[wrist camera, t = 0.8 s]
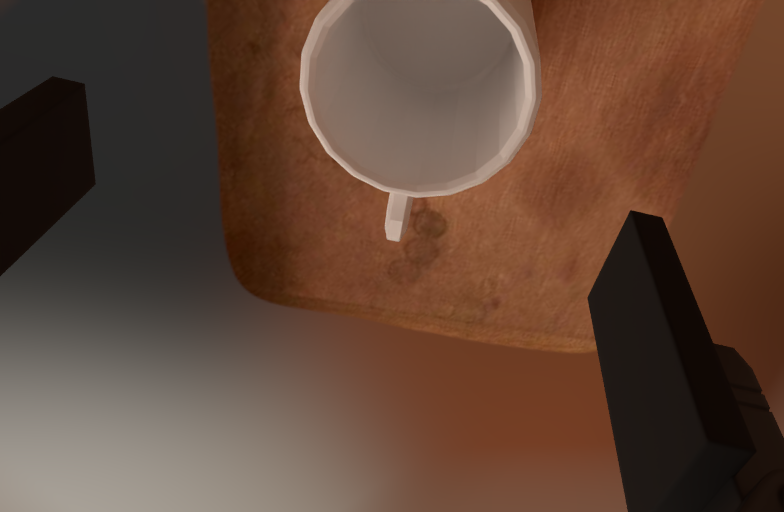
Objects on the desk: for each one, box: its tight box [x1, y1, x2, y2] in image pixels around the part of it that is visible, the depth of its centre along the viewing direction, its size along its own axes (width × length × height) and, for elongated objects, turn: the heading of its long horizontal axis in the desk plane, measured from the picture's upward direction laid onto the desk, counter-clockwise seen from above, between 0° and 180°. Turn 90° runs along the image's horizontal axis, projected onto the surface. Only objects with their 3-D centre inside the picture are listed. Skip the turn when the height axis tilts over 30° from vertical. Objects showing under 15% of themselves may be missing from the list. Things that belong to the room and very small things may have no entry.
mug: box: [300, 0, 542, 242], centre depth 26 cm, size 8×12×10 cm
